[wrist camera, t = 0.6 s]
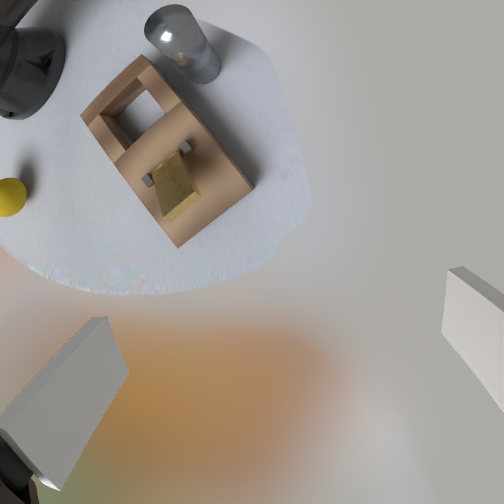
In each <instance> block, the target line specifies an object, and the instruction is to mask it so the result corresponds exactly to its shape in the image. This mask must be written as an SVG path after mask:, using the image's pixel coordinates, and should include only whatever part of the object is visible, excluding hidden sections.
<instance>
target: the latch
mask: <svg viewBox="0 0 504 504" xmlns="http://www.w3.org/2000/svg"><path fill="white" fill-rule="evenodd" d="M151 173H152V177H153V181H154V185H155V189H156V193H157V197H158V201H159V204H160V208H161V212H162V216H163V218H164V219H166V220H167V221H169V222H170V223H171V222H172V221H174V220H175V219H176V218H177V217H178V216H180V215H181V214H182V213H183V212H184V211H186V210H187V209H188V208H189V207H190V206H192V205H193V204H194V203H195V202H196V201H198V200H199V199H200V198H201V195H200V192H199V190H198V188H197V185H196V183H195V180H194V178H193V176H192V173H191V171H190V169H189V166H188V164H187V162H186V159H185V157H184V155H183V153H182V152H181V151H180V150H179V149H176V150H175V151H174V152H173V153H172V154H171V155H169V156H168V157H167V158H166V159H165V160H164V161H163V162H162V163H160V164H159V165H158V166H157V167H156V168H155V169H154V170H153V171H152V172H151Z"/></svg>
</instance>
